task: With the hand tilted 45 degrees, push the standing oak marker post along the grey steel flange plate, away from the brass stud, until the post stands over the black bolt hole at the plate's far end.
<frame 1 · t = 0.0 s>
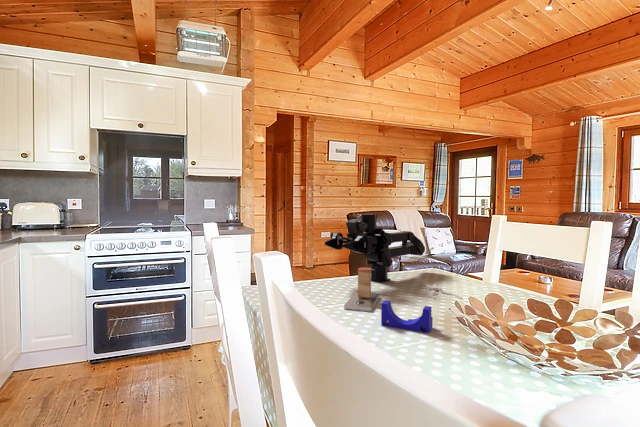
hand: (333, 244, 128), 17 cm above the table, tool horizontal, fingers open, 9 cm apart
flange plate: (362, 302, 114), on the table
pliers: (438, 294, 126), on the table
blue cradle bracket: (406, 328, 93), on the table
marker post: (364, 282, 116), point 6 cm above the table, slide at 0.0 cm
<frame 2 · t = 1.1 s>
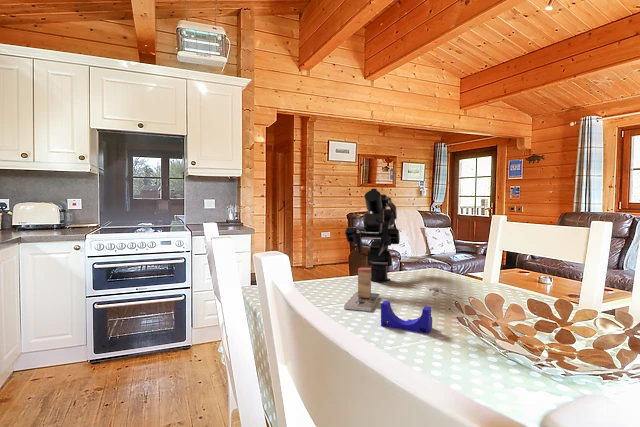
hand: (369, 254, 124), 14 cm above the table, tool tilted 45°, fingers open, 6 cm apart
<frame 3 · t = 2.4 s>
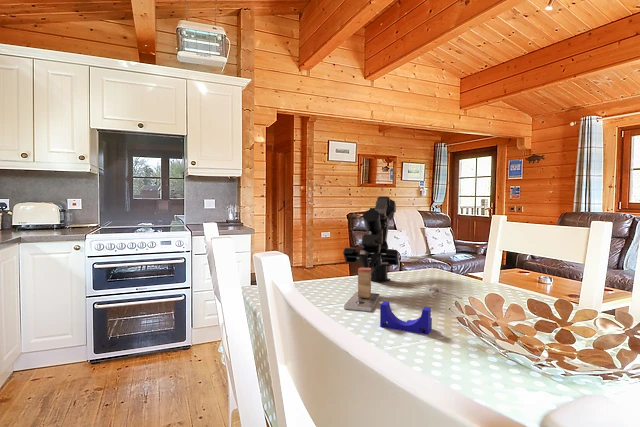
hand: (367, 276, 121), 7 cm above the table, tool tilted 45°, fingers closed
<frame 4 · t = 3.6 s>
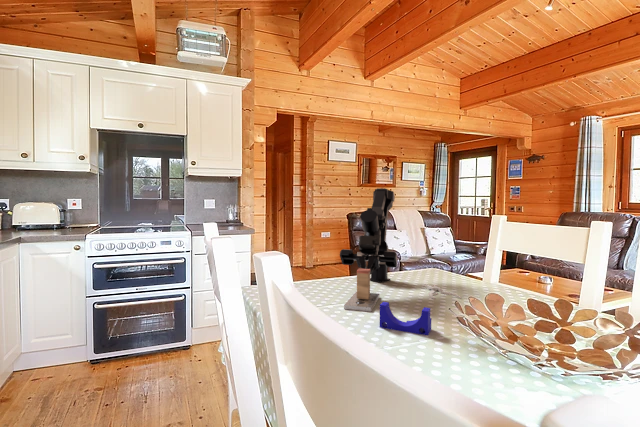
hand: (364, 279, 117), 7 cm above the table, tool tilted 45°, fingers closed, pressing on marker post
marker post: (363, 283, 115), point 6 cm above the table, slide at 1.6 cm, touching gripper
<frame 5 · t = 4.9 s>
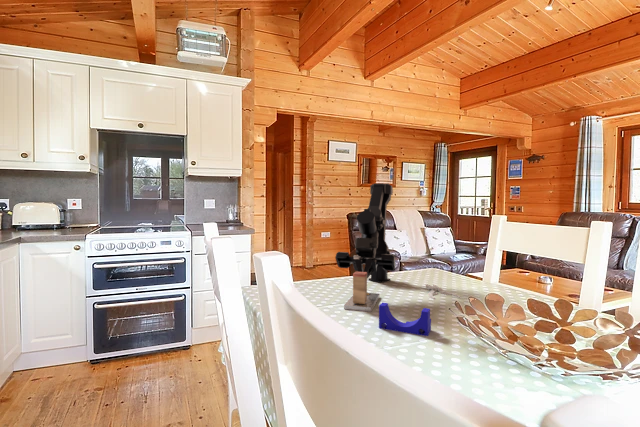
hand: (361, 283, 112), 7 cm above the table, tool tilted 45°, fingers closed
marker post: (360, 287, 110), point 6 cm above the table, slide at 6.8 cm
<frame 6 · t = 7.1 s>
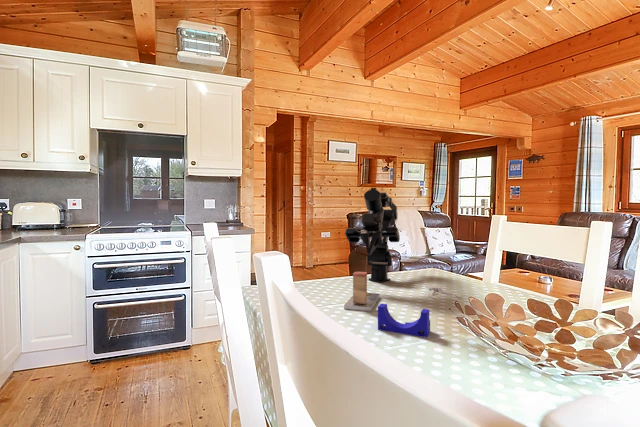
hand: (368, 254, 125), 14 cm above the table, tool tilted 40°, fingers closed
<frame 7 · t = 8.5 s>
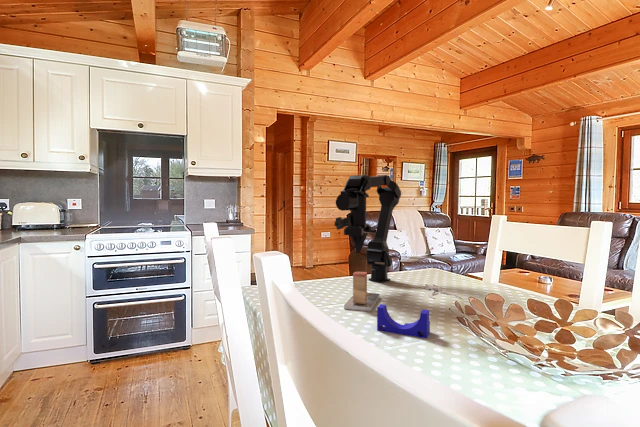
hand: (358, 252, 132), 13 cm above the table, tool pointing down, fingers closed
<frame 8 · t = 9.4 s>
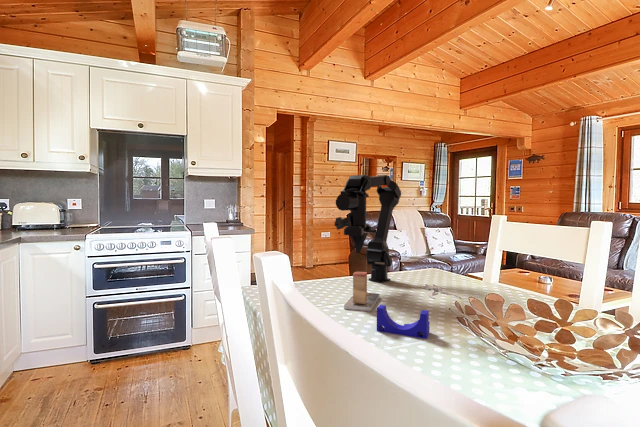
hand: (358, 252, 132), 13 cm above the table, tool pointing down, fingers closed
at the end: marker post slide at 6.8 cm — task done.
